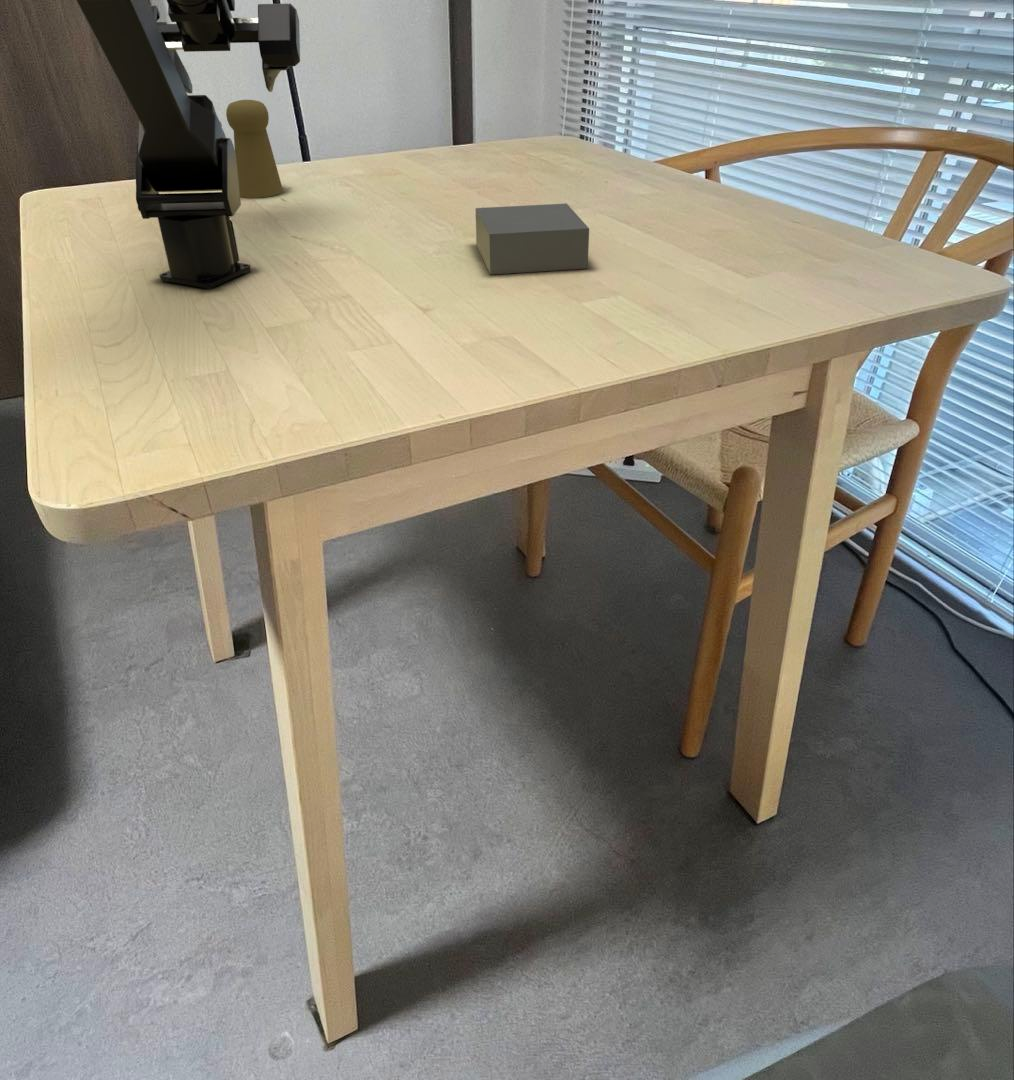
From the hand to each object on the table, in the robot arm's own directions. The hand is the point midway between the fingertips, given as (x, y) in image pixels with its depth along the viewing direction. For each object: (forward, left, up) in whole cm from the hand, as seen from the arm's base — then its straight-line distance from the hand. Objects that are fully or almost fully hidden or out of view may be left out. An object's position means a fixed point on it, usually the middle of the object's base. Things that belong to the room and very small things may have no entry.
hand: (230, 89), depth 101 cm
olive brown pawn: (+7, +4, -13) cm, 15 cm away
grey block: (-5, -41, -13) cm, 43 cm away
